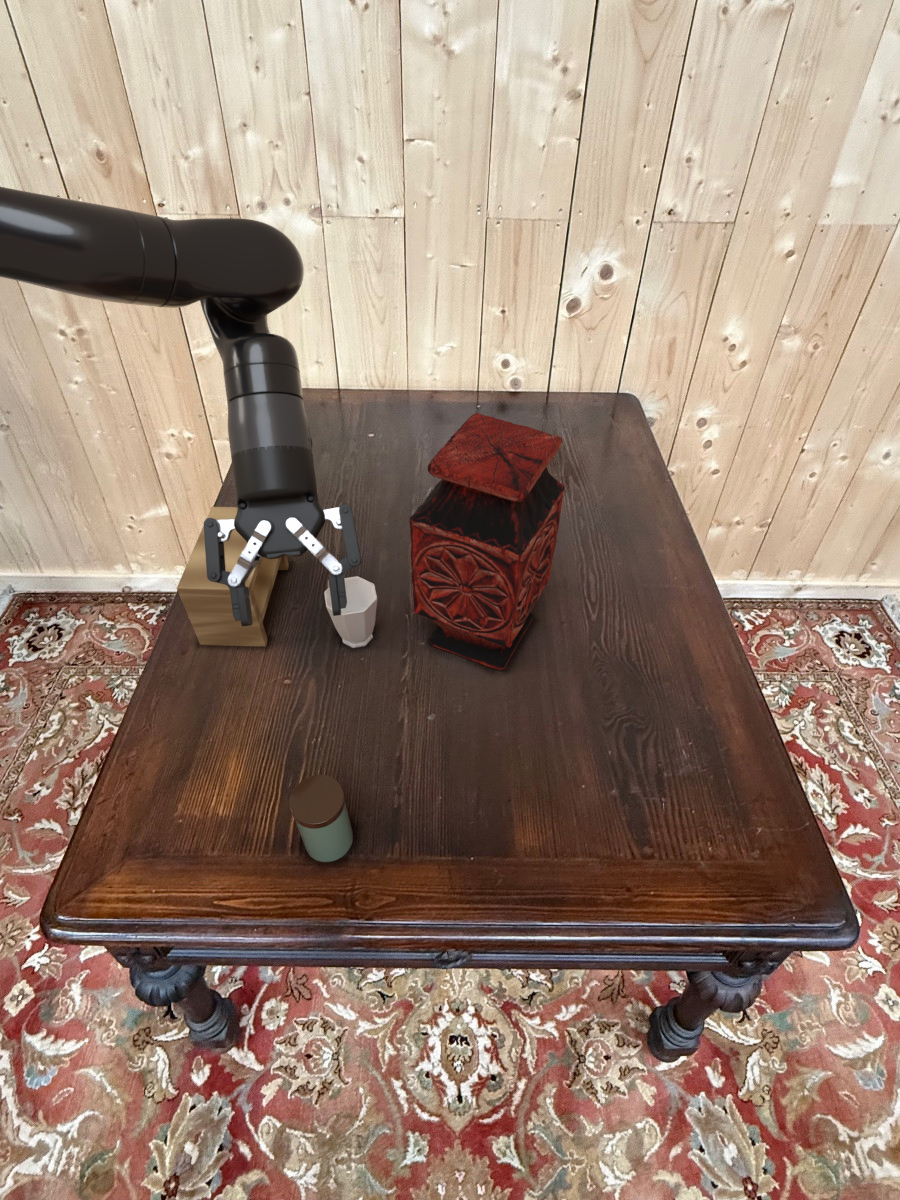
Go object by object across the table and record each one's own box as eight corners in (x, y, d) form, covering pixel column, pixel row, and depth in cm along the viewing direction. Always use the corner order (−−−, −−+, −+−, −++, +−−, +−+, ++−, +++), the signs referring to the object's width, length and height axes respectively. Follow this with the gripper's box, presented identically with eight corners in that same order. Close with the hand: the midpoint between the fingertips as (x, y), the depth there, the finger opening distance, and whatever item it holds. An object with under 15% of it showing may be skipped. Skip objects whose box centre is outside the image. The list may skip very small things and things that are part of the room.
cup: (347, 664, 91) (339, 623, 85) (312, 617, 97) (302, 576, 91) (392, 640, 94) (388, 599, 88) (356, 597, 99) (349, 555, 94)
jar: (330, 872, 72) (317, 834, 66) (293, 843, 74) (278, 804, 68) (363, 833, 75) (354, 793, 68) (327, 806, 77) (315, 765, 71)
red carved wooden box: (508, 687, 88) (524, 501, 66) (414, 650, 93) (400, 464, 71) (547, 615, 97) (574, 429, 75) (460, 584, 101) (460, 400, 79)
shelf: (266, 646, 93) (248, 589, 85) (200, 645, 93) (176, 588, 85) (289, 564, 104) (275, 507, 96) (230, 563, 104) (211, 506, 96)
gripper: (183, 450, 61) (207, 632, 62) (345, 435, 63) (366, 613, 63) (204, 465, 69) (225, 627, 69) (348, 451, 70) (367, 610, 71)
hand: (292, 620), depth 66 cm, fingers open, 8 cm apart
